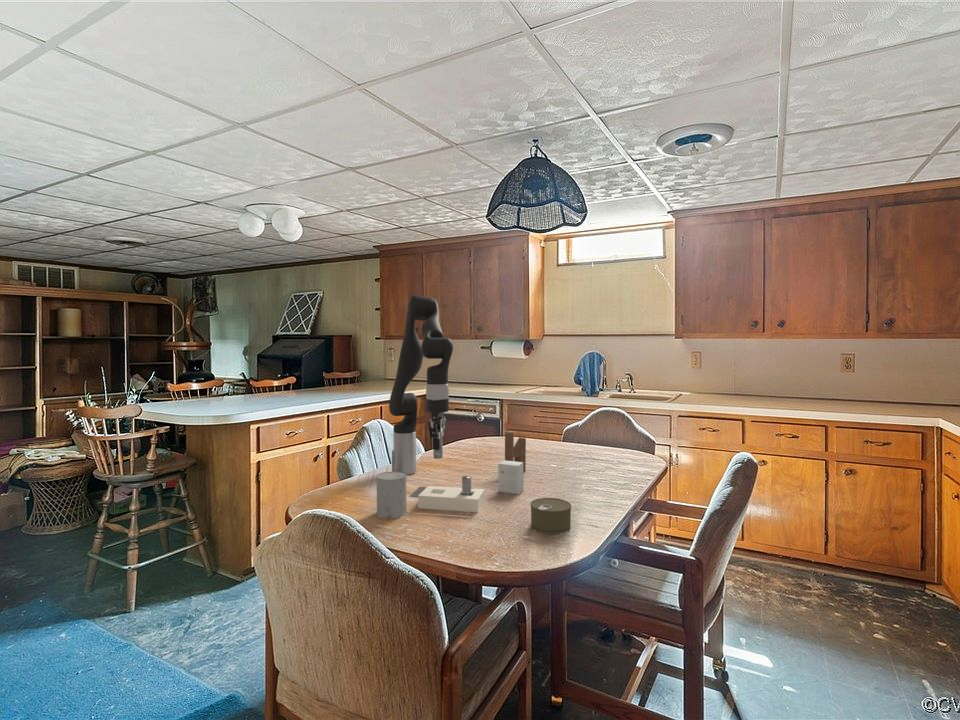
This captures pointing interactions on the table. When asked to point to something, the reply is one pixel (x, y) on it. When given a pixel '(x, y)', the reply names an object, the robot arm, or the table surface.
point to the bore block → (451, 499)
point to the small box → (510, 477)
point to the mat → (417, 492)
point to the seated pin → (466, 485)
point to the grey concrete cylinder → (391, 495)
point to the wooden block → (515, 449)
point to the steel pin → (439, 453)
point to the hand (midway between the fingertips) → (437, 448)
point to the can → (550, 515)
